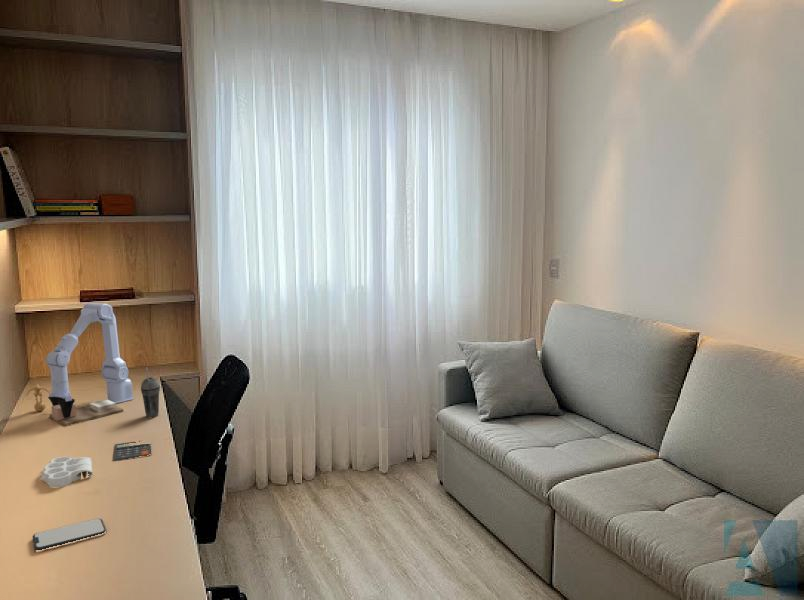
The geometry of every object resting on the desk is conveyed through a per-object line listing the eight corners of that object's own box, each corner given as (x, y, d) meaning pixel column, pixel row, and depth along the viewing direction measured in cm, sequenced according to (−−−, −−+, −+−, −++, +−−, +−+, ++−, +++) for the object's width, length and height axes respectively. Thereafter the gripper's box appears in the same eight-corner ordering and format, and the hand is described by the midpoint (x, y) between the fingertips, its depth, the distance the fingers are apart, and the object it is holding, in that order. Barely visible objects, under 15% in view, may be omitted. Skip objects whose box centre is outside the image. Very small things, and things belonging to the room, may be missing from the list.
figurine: (52, 408, 261) (49, 380, 259) (50, 412, 256) (48, 384, 254) (29, 410, 258) (26, 382, 256) (27, 415, 253) (24, 386, 251)
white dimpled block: (92, 482, 192) (37, 492, 186) (91, 461, 208) (41, 470, 202) (92, 472, 192) (36, 482, 185) (91, 451, 208) (40, 460, 201)
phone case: (101, 522, 169) (32, 539, 160) (101, 516, 169) (32, 533, 160) (107, 536, 162) (35, 555, 153) (106, 531, 161) (34, 549, 152)
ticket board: (105, 403, 267) (104, 396, 266) (123, 411, 257) (122, 404, 256) (49, 417, 250) (49, 409, 250) (66, 426, 240) (65, 418, 240)
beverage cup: (166, 414, 253) (162, 365, 250) (152, 419, 246) (148, 370, 243) (152, 411, 256) (149, 363, 253) (138, 417, 250) (134, 368, 246)
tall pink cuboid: (71, 413, 251) (70, 402, 251) (76, 415, 248) (75, 404, 247) (52, 417, 246) (51, 406, 245) (57, 420, 243) (56, 409, 242)
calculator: (113, 459, 207) (114, 443, 221) (113, 462, 207) (115, 446, 221) (151, 454, 211) (150, 438, 225) (151, 456, 212) (150, 441, 225)
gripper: (41, 380, 246) (44, 413, 248) (56, 387, 237) (59, 422, 239) (60, 376, 251) (63, 409, 253) (76, 383, 242) (79, 417, 244)
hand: (62, 415), depth 246 cm, fingers open, 7 cm apart
